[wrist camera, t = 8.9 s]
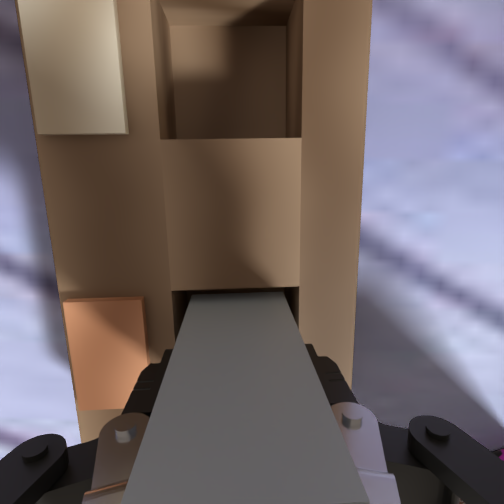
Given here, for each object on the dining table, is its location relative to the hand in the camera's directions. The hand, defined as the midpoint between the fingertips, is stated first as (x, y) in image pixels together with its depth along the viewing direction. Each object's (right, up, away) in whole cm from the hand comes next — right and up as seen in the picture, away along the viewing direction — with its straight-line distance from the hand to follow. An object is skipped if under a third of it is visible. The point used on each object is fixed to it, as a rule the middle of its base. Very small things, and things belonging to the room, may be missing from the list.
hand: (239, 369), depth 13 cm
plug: (0, +1, +3) cm, 3 cm away
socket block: (-1, +7, +5) cm, 9 cm away
